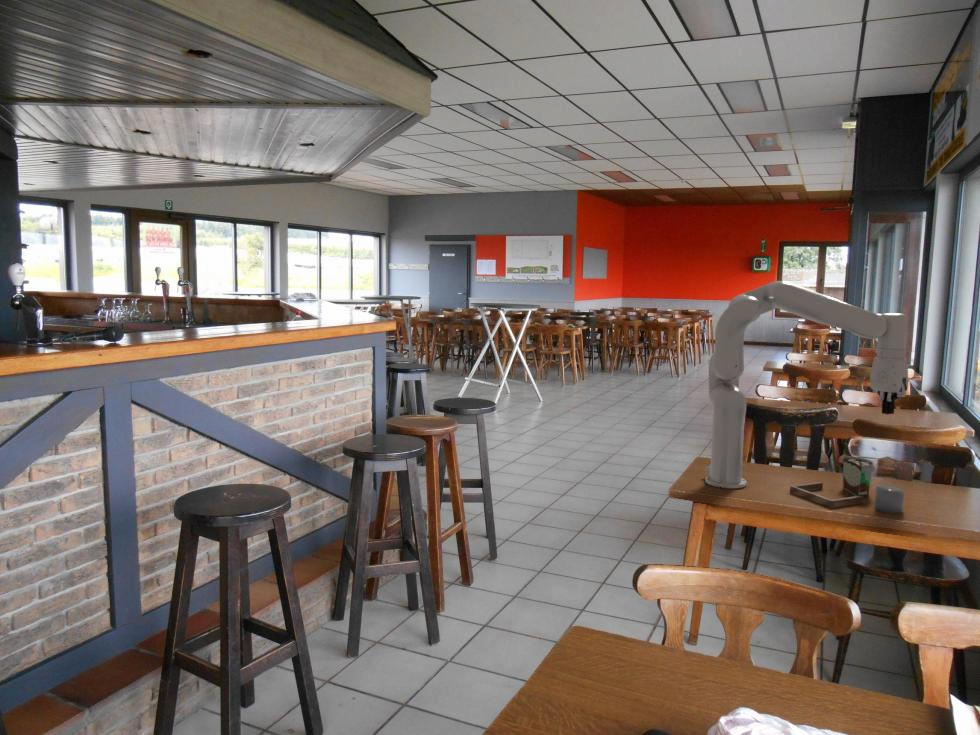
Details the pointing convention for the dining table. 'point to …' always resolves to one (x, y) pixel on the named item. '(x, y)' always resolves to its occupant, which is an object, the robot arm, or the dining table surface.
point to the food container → (857, 475)
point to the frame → (804, 492)
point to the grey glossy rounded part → (889, 499)
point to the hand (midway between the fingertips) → (887, 413)
